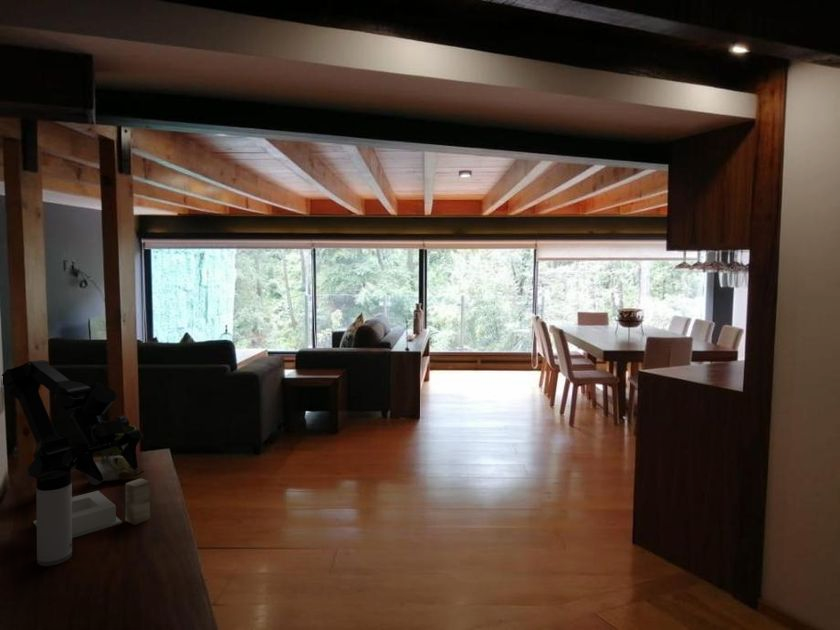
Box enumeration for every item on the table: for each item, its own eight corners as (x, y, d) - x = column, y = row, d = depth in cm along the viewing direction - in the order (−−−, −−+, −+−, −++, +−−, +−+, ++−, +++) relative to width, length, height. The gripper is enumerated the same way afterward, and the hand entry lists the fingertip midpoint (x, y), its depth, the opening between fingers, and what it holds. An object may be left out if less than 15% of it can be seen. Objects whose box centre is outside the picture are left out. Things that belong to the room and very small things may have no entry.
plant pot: (98, 472, 160) (98, 437, 160) (91, 461, 169) (91, 428, 168) (140, 464, 168) (140, 431, 167) (131, 454, 177) (131, 422, 176)
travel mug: (80, 554, 114) (80, 467, 113) (50, 569, 108) (49, 477, 106) (60, 548, 116) (59, 462, 115) (30, 563, 110) (29, 472, 108)
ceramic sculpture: (78, 452, 152) (132, 444, 164) (76, 481, 152) (130, 471, 164) (91, 462, 145) (146, 453, 157) (89, 492, 146) (144, 480, 157)
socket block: (33, 523, 127) (33, 505, 126) (101, 504, 138) (101, 488, 138) (50, 545, 117) (50, 526, 117) (121, 523, 128) (121, 505, 128)
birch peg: (125, 521, 130) (125, 483, 129) (140, 515, 133) (140, 478, 132) (134, 525, 128) (134, 486, 127) (149, 519, 131) (150, 481, 130)
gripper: (68, 415, 123) (97, 468, 119) (138, 400, 140) (166, 446, 136) (48, 442, 127) (76, 494, 123) (120, 424, 144) (146, 469, 140)
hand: (119, 474), depth 131 cm, fingers open, 9 cm apart
